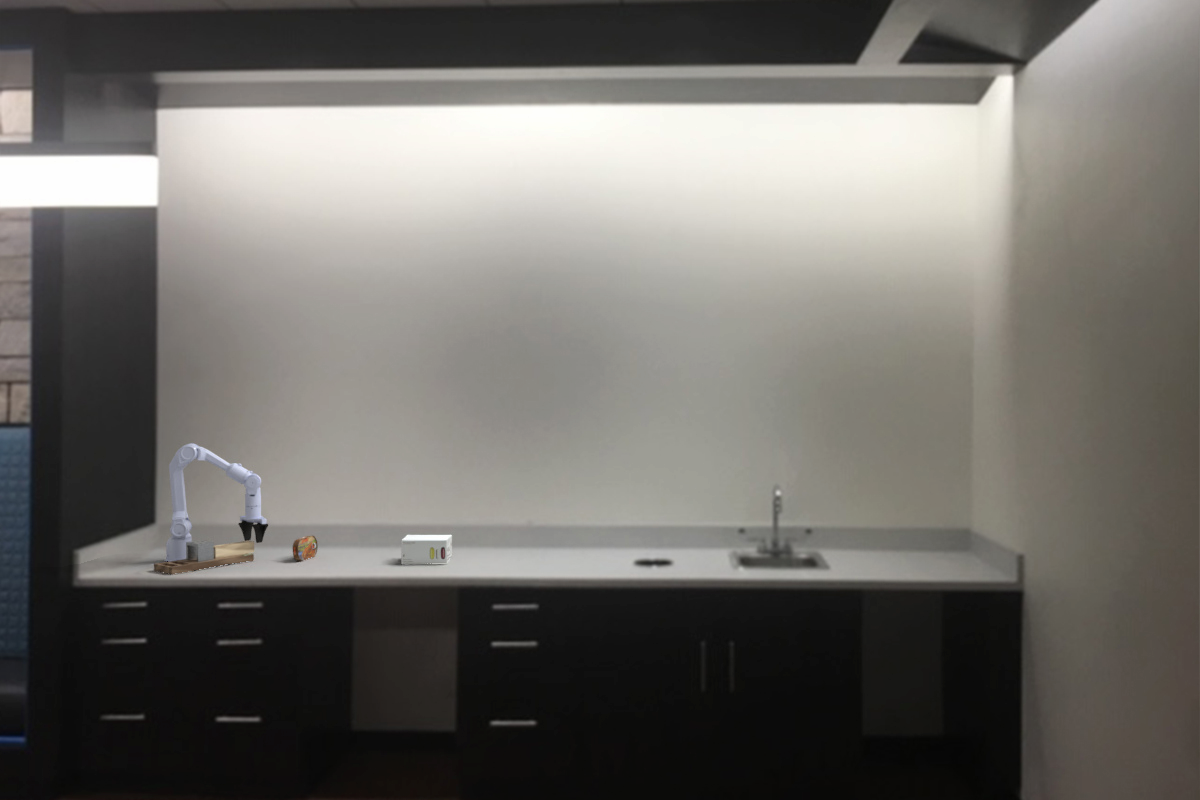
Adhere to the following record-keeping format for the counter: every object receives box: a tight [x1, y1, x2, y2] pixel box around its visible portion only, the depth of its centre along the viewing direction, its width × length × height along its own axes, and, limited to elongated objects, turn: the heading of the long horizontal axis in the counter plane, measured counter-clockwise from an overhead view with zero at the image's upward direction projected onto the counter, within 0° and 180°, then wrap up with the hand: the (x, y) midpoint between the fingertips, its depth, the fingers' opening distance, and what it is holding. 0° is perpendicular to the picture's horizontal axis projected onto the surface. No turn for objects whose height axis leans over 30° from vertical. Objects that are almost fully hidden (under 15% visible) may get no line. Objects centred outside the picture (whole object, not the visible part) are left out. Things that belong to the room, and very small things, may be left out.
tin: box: [292, 534, 319, 562], centre depth 368 cm, size 15×3×8 cm, turn 168°
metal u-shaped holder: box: [186, 539, 215, 562], centre depth 353 cm, size 8×6×6 cm
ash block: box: [214, 540, 255, 558], centre depth 363 cm, size 4×16×4 cm, turn 143°
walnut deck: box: [153, 552, 255, 575], centre depth 355 cm, size 12×32×3 cm, turn 143°
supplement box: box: [400, 534, 453, 564], centre depth 361 cm, size 17×13×9 cm
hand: (253, 541), depth 371 cm, fingers open, 7 cm apart
